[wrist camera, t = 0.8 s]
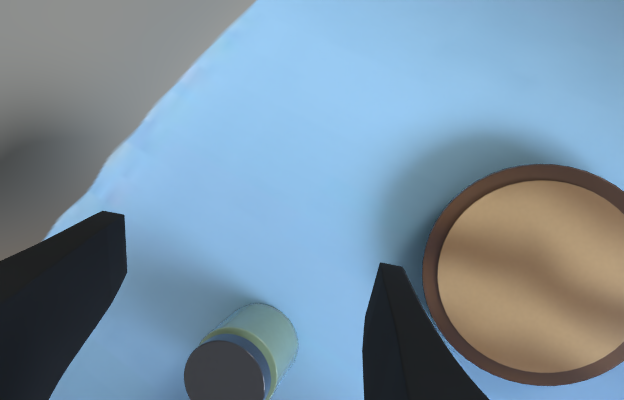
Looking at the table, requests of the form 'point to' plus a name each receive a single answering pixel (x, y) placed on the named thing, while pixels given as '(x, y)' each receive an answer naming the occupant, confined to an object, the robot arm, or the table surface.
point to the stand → (531, 274)
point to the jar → (242, 356)
